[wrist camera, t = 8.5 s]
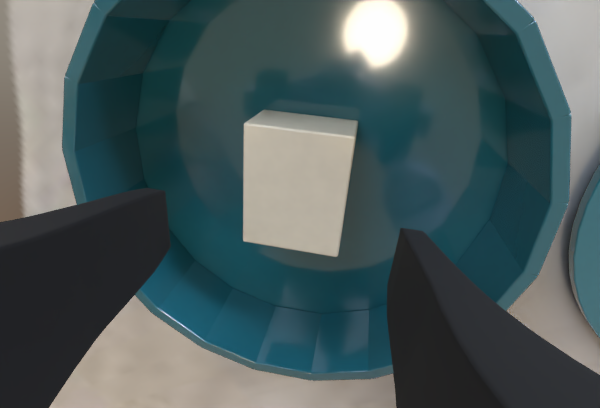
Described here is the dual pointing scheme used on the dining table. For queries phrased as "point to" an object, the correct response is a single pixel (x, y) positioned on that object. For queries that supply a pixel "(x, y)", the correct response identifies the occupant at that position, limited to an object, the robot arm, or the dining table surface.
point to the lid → (587, 254)
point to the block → (296, 180)
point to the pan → (365, 166)
